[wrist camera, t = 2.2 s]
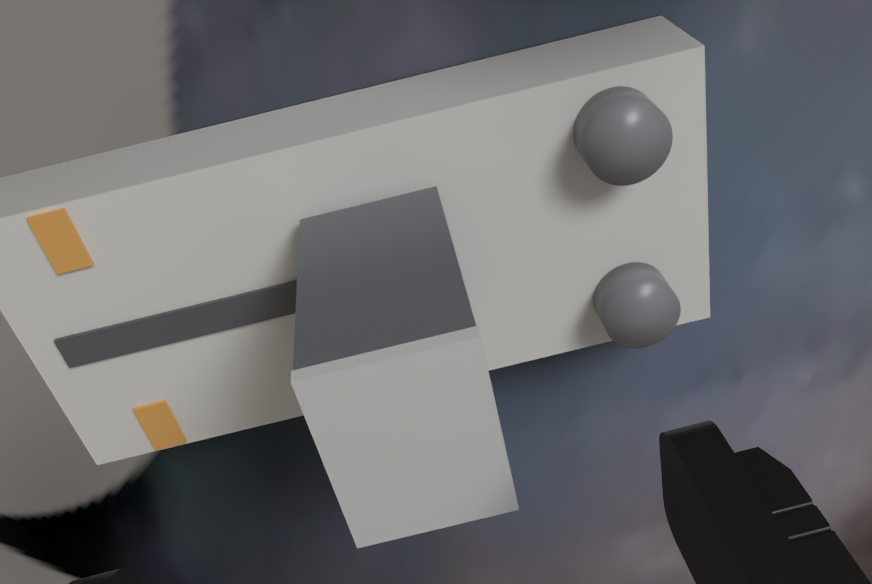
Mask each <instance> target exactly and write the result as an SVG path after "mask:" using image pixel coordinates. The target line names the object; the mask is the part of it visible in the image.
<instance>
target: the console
mask: <svg viewBox="0 0 872 584" xmlns="http://www.w3.org/2000/svg"><path fill="white" fill-rule="evenodd" d="M435 186H437V190H438V193H439V197H440V200H441V204H442V207H443V211H444V214H445V218H446V221H447V225H448V228H449V232H450V235H451V239H452V242H453V246H454V249H455V253H456V256H457V260H458V263H459V267H460V270H461V274H462V277H463V281H464V284H465V288H466V291H467V295H468V298H469V302H470V305H471V309H472V312H473V316H474V319H475V323H476V326H478V329H479V332H480V336H481V340H482V344H483V349H484V353H485V358H486V362H487V367H488V371H489V370H494V369H498V368H502V367H506V366H510V365H514V364H518V363H522V362H527V361H531V360H535V359H539V358H543V357H547V356H551V355H556V354H560V353H564V352H568V351H572V350H576V349H580V348H585V347H589V346H593V345H597V344H601V343H605V342H609V341H614V342H615V343H617V344H618V345H621V346H623V347H627V348H643V347H647V346H650V345H653V344H655V343H657V342H659V341H661V340H662V339H664V338H665V337H666V336H667V335H668V334H669V333H670V332H671V331H672V330H673V329H674V327H675V326H676V325H680V324H684V323H688V322H692V321H696V320H700V319H705V318H709V317H710V284H709V236H708V189H707V142H706V95H705V47H704V45H703V44H701V43H700V42H699V41H697V40H696V39H694V38H693V37H691V36H690V35H688V34H687V33H686V32H684V31H683V30H681V29H680V28H678V27H677V26H676V25H674V24H673V23H671V22H670V21H668V20H667V19H666V18H664V17H663V16H657V17H653V18H649V19H645V20H641V21H637V22H633V23H628V24H624V25H620V26H616V27H612V28H608V29H604V30H600V31H596V32H592V33H588V34H584V35H580V36H576V37H572V38H567V39H563V40H559V41H555V42H551V43H547V44H543V45H539V46H535V47H531V48H527V49H523V50H519V51H515V52H511V53H506V54H502V55H498V56H494V57H490V58H486V59H482V60H478V61H474V62H470V63H466V64H462V65H458V66H454V67H450V68H445V69H441V70H437V71H433V72H429V73H425V74H421V75H417V76H413V77H409V78H405V79H401V80H397V81H393V82H389V83H384V84H380V85H376V86H372V87H368V88H364V89H360V90H356V91H352V92H348V93H344V94H340V95H336V96H332V97H327V98H323V99H319V100H315V101H311V102H307V103H303V104H299V105H295V106H291V107H287V108H283V109H279V110H275V111H271V112H266V113H262V114H258V115H254V116H250V117H246V118H242V119H238V120H234V121H230V122H226V123H222V124H218V125H214V126H210V127H205V128H201V129H197V130H193V131H189V132H185V133H181V134H177V135H173V136H169V137H165V138H161V139H157V140H153V141H149V142H144V143H141V144H137V145H132V146H129V147H124V148H120V149H116V150H112V151H108V152H104V153H100V154H96V155H92V156H88V157H83V158H79V159H75V160H72V161H67V162H64V163H59V164H55V165H51V166H47V167H43V168H39V169H35V170H31V171H27V172H22V173H18V174H14V175H11V176H6V177H2V178H0V311H1V312H2V314H3V315H4V317H5V319H6V320H7V322H8V323H9V325H10V327H11V328H12V330H13V331H14V333H15V335H16V336H17V338H18V339H19V341H20V342H21V344H22V346H23V347H24V349H25V351H26V352H27V354H28V355H29V357H30V359H31V360H32V362H33V363H34V365H35V366H36V368H37V370H38V371H39V373H40V375H41V376H42V378H43V379H44V381H45V383H46V384H47V386H48V387H49V389H50V391H51V392H52V394H53V395H54V397H55V399H56V400H57V402H58V403H59V405H60V407H61V408H62V410H63V411H64V413H65V415H66V416H67V418H68V419H69V421H70V423H71V424H72V426H73V427H74V429H75V431H76V432H77V434H78V435H79V437H80V438H81V440H82V442H83V444H84V445H85V447H86V448H87V450H88V452H89V453H90V455H91V456H92V458H93V459H94V461H95V463H96V464H97V465H100V464H104V463H108V462H113V461H117V460H121V459H125V458H129V457H133V456H137V455H142V454H146V453H150V452H154V451H158V450H162V449H167V448H171V447H175V446H179V445H183V444H187V443H191V442H195V441H200V440H204V439H208V438H212V437H216V436H220V435H224V434H229V433H233V432H237V431H241V430H245V429H249V428H253V427H258V426H262V425H266V424H270V423H274V422H278V421H282V420H287V419H291V418H295V417H299V416H303V412H302V410H301V407H300V405H299V402H298V400H297V397H296V395H295V392H294V390H293V387H292V385H291V371H293V356H294V334H295V312H296V290H297V268H298V246H299V224H300V219H304V218H308V217H312V216H316V215H320V214H324V213H328V212H332V211H337V210H341V209H345V208H349V207H353V206H357V205H361V204H365V203H369V202H373V201H378V200H382V199H386V198H390V197H394V196H398V195H402V194H406V193H410V192H414V191H418V190H423V189H427V188H431V187H435Z"/></svg>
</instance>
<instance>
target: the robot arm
mask: <svg viewBox="0 0 872 584" xmlns="http://www.w3.org/2000/svg"><path fill="white" fill-rule="evenodd" d="M659 442H660V457H661V472H662V487H663V500H664V507H665V512H666V516H667V519H668V523H669V526H670V529H671V531H672V534H673V537H674V539H675V541H676V543H677V546H678V548H679V550H680V552H681V554H682V556H683V558H684V560H685V562H686V564H687V566H688V568H689V570H690V572H691V574H692V576H693V578H694V580H695V582H696V584H871V583H870V582H869V580H868V579H867V577H866V576H865V574H864V573H863V572H862V570H861V569H860V567H859V566H858V565H857V563H856V562H855V560H854V559H853V557H852V556H851V555H850V553H849V552H848V550H847V549H846V547H845V546H844V545H843V543H842V542H841V540H840V539H839V538H838V536H837V535H836V533H835V532H834V531H831V529H830V526H829V523H828V522H827V520H826V519H825V518H824V516H823V515H822V513H821V512H820V510H819V509H818V508H817V506H814V505H813V503H812V499H811V498H810V496H809V495H808V493H807V492H806V491H805V489H804V488H803V486H802V485H801V483H800V482H799V481H798V479H797V478H796V476H795V475H794V474H793V472H792V471H791V469H789V468H788V467H786V466H785V465H784V464H782V463H781V462H779V461H778V460H776V459H775V458H773V457H772V456H771V455H769V454H768V453H766V452H765V451H763V450H762V449H761V448H759V447H756V448H752V449H748V450H744V451H740V452H736V453H734V452H733V450H732V449H731V447H730V445H729V444H728V442H727V441H726V439H725V438H724V436H723V435H722V433H721V431H720V430H719V428H718V427H717V426H716V425H715V423H713V422H712V421H705V422H701V423H698V424H694V425H690V426H686V427H682V428H678V429H674V430H670V431H666V432H662V433H661V434H660V438H659ZM69 584H138V582H137V581H136V579H135V578H134V576H133V575H132V574H131V572H130V571H129V570H127V569H125V568H121V569H117V570H113V571H109V572H105V573H101V574H97V575H94V576H90V577H86V578H82V579H78V580H74V581H72V582H70V583H69Z"/></svg>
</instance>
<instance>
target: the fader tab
mask: <svg viewBox="0 0 872 584" xmlns="http://www.w3.org/2000/svg"><path fill="white" fill-rule="evenodd" d="M291 385H292V387H293V390H294V392H295V395H296V397H297V400H298V402H299V405H300V407H301V410H302V412H303V415H304V417H305V420H306V422H307V425H308V427H309V430H310V432H311V435H312V437H313V440H314V442H315V445H316V447H317V449H318V452H319V454H320V457H321V459H322V462H323V464H324V467H325V469H326V472H327V474H328V477H329V479H330V482H331V484H332V487H333V489H334V492H335V494H336V497H337V499H338V502H339V504H340V507H341V509H342V512H343V514H344V517H345V519H346V522H347V524H348V526H349V529H350V531H351V534H352V536H353V539H354V541H355V544H356V546H357V548H361V547H365V546H369V545H374V544H378V543H382V542H386V541H390V540H395V539H399V538H403V537H407V536H411V535H415V534H420V533H424V532H428V531H432V530H436V529H440V528H445V527H449V526H453V525H457V524H461V523H465V522H470V521H474V520H478V519H482V518H486V517H491V516H495V515H499V514H503V513H507V512H511V511H516V510H519V507H518V503H517V498H516V494H515V489H514V485H513V480H512V475H511V471H510V466H509V462H508V457H507V453H506V448H505V444H504V439H503V435H502V430H501V426H500V421H499V417H498V412H497V408H496V403H495V399H494V394H493V390H492V385H491V380H490V376H489V371H488V367H487V362H486V358H485V353H484V349H483V344H482V340H481V336H480V332H479V329H478V326H476V323H475V319H474V316H473V312H472V309H471V305H470V302H469V298H468V295H467V291H466V288H465V284H464V281H463V277H462V274H461V270H460V267H459V263H458V260H457V256H456V253H455V249H454V246H453V242H452V239H451V235H450V232H449V228H448V225H447V221H446V218H445V214H444V211H443V207H442V204H441V200H440V197H439V193H438V190H437V186H435V187H431V188H427V189H423V190H418V191H414V192H410V193H406V194H402V195H398V196H394V197H390V198H386V199H382V200H378V201H373V202H369V203H365V204H361V205H357V206H353V207H349V208H345V209H341V210H337V211H332V212H328V213H324V214H320V215H316V216H312V217H308V218H304V219H300V224H299V246H298V268H297V290H296V312H295V334H294V356H293V371H291Z"/></svg>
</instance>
